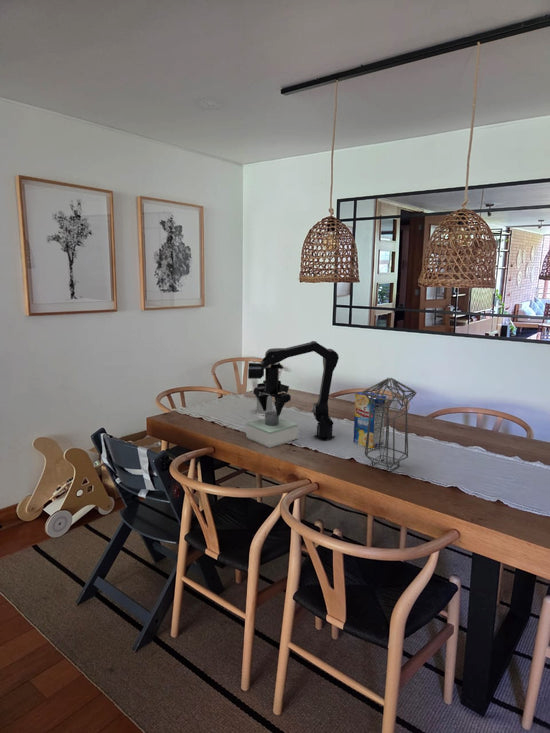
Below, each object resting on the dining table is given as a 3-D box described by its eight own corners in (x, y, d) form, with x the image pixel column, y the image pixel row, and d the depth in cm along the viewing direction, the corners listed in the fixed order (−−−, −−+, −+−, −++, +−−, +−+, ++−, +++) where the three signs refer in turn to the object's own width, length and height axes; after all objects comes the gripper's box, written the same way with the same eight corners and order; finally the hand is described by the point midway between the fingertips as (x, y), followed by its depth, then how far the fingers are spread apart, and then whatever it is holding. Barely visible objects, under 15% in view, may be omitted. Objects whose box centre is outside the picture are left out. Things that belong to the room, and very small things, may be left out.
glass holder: (254, 411, 252) (254, 383, 249) (280, 409, 256) (280, 381, 253) (258, 416, 244) (258, 387, 241) (284, 414, 248) (285, 385, 245)
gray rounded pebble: (281, 423, 211) (281, 414, 210) (271, 426, 207) (271, 416, 206) (272, 420, 215) (272, 411, 214) (262, 423, 212) (262, 413, 211)
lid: (297, 426, 211) (297, 424, 210) (269, 434, 200) (269, 432, 200) (273, 417, 222) (273, 415, 222) (246, 424, 212) (246, 423, 212)
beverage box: (372, 450, 200) (375, 399, 195) (353, 442, 208) (355, 393, 204) (383, 446, 204) (386, 396, 200) (363, 439, 213) (366, 390, 208)
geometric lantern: (414, 466, 184) (420, 378, 176) (391, 479, 173) (396, 386, 165) (379, 454, 195) (383, 370, 187) (355, 466, 184) (359, 377, 176)
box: (297, 439, 212) (297, 426, 211) (269, 447, 202) (269, 434, 200) (273, 430, 224) (273, 417, 222) (246, 437, 213) (246, 424, 212)
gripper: (300, 379, 205) (299, 414, 209) (272, 372, 219) (271, 405, 222) (280, 383, 198) (280, 419, 201) (252, 375, 212) (252, 409, 215)
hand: (271, 413), depth 210 cm, fingers open, 9 cm apart
